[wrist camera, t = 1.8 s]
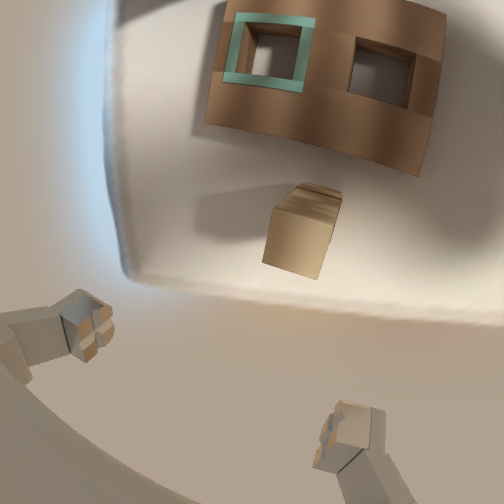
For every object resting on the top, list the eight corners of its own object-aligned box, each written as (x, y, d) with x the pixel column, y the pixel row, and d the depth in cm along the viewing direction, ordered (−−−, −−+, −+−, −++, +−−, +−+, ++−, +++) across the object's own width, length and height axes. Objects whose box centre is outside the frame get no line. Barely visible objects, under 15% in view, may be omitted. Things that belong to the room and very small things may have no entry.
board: (436, 27, 19) (446, 13, 15) (410, 171, 26) (418, 177, 22) (247, -7, 23) (232, -22, 20) (221, 123, 30) (203, 123, 27)
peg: (344, 190, 29) (334, 225, 18) (334, 228, 31) (317, 281, 20) (305, 179, 30) (272, 207, 19) (296, 217, 32) (260, 262, 21)
